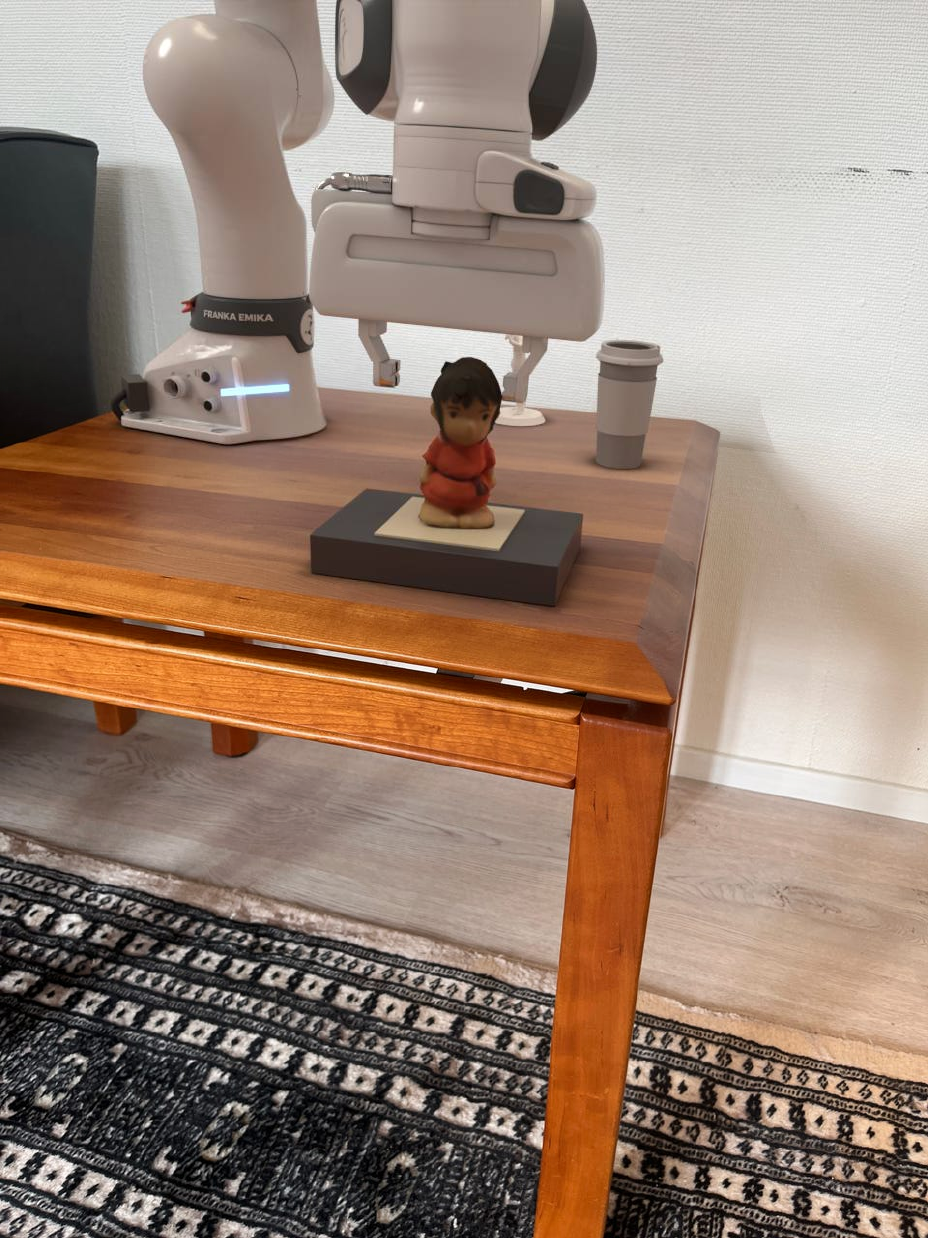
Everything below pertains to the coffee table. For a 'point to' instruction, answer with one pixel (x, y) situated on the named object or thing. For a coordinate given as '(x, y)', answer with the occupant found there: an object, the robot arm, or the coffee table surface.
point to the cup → (625, 400)
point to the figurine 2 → (518, 413)
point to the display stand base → (449, 548)
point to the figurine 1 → (461, 447)
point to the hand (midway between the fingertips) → (449, 393)
